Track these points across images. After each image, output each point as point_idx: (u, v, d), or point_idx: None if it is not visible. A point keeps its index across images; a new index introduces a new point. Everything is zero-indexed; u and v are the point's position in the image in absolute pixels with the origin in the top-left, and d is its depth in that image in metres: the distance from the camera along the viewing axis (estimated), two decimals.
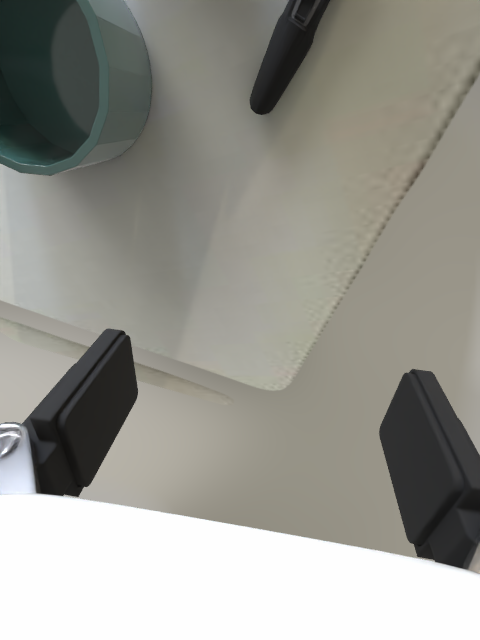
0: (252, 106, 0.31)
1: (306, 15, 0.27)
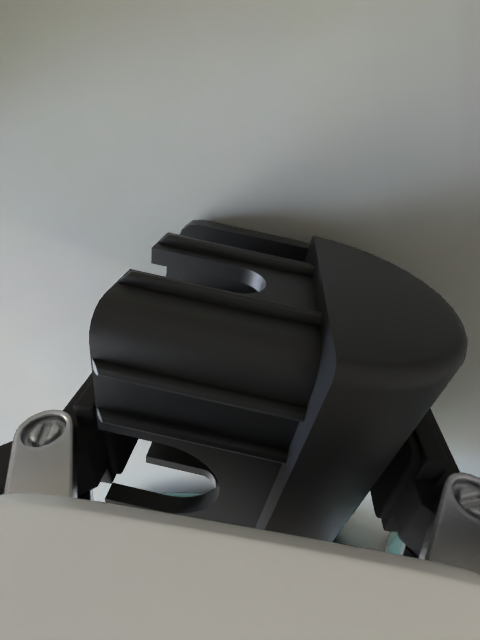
0: None
1: None
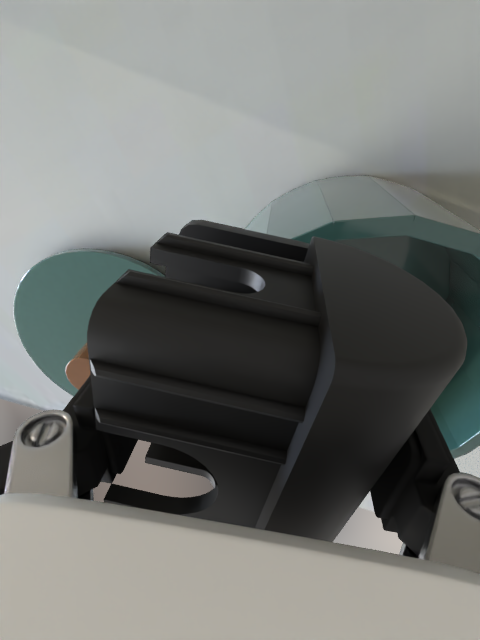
0: None
1: None
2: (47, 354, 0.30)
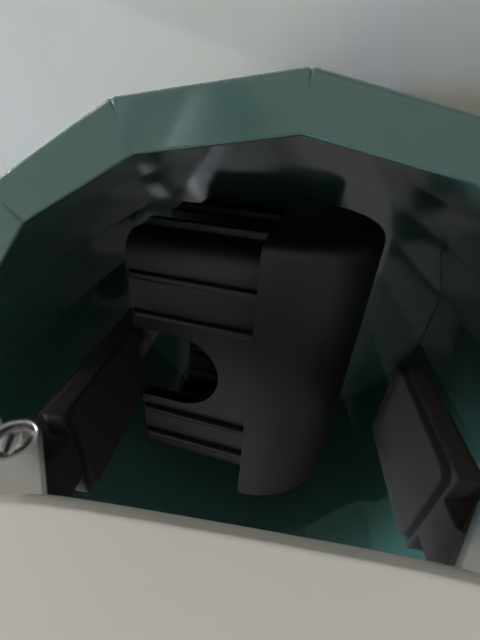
0: None
1: None
2: None
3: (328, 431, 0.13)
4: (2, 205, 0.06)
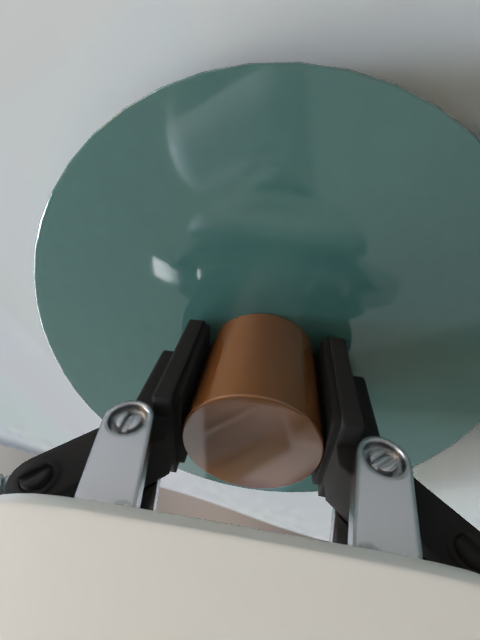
0: None
1: None
2: (103, 371, 0.14)
3: None
4: None
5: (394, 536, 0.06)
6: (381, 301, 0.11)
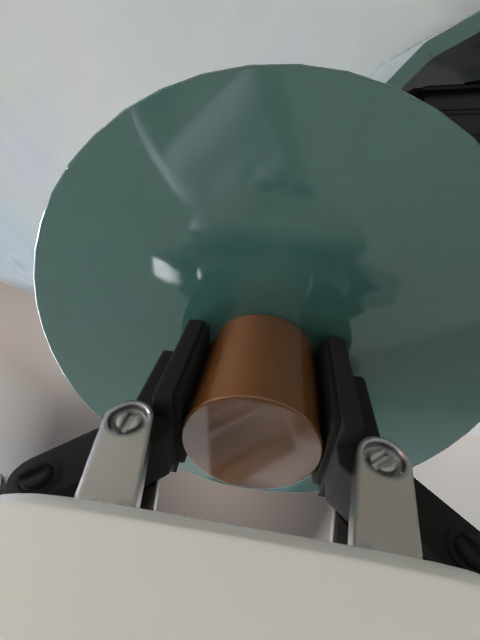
0: None
1: None
2: (103, 372, 0.14)
3: None
4: (428, 50, 0.16)
5: (394, 536, 0.06)
6: (380, 302, 0.11)
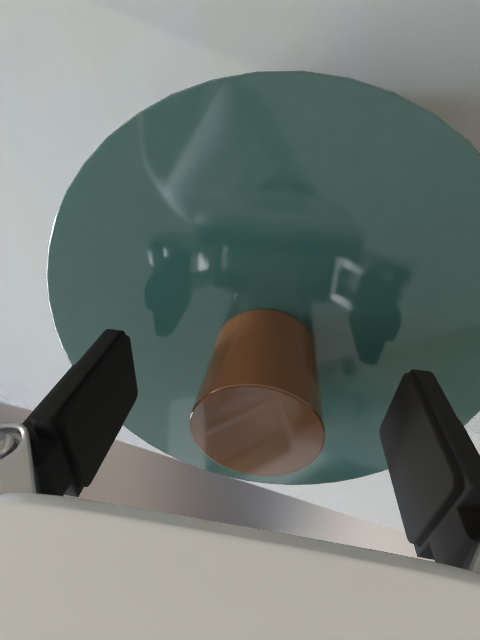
0: None
1: None
2: None
3: None
4: None
5: None
6: (380, 297, 0.11)
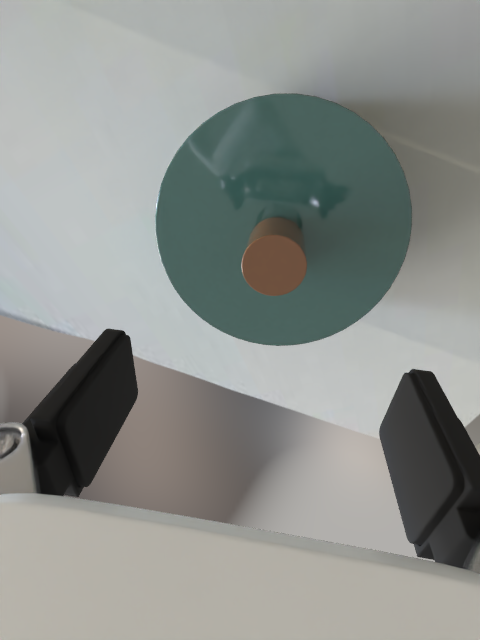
0: None
1: None
2: (186, 259, 0.25)
3: None
4: None
5: None
6: (336, 207, 0.21)
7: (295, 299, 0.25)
